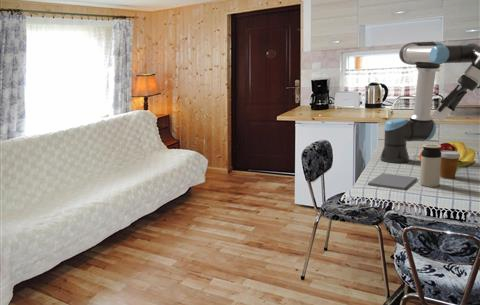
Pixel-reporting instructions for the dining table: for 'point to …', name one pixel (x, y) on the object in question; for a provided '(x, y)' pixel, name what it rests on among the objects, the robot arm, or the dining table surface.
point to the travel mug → (430, 165)
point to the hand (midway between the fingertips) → (436, 119)
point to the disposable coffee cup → (449, 164)
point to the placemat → (392, 181)
